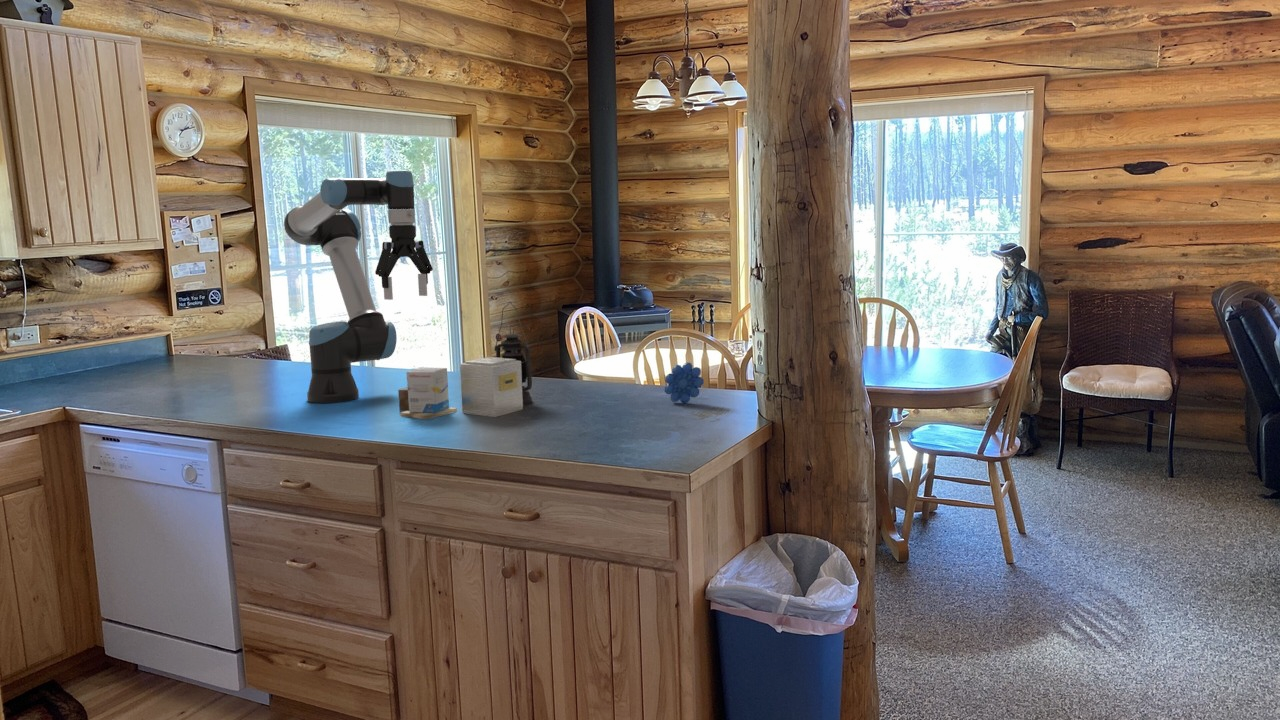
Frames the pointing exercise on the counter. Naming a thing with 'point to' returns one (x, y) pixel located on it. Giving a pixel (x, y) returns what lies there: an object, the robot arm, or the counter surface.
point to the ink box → (427, 390)
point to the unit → (491, 386)
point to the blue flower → (683, 382)
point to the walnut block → (403, 399)
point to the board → (428, 415)
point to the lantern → (517, 357)
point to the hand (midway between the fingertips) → (406, 297)
